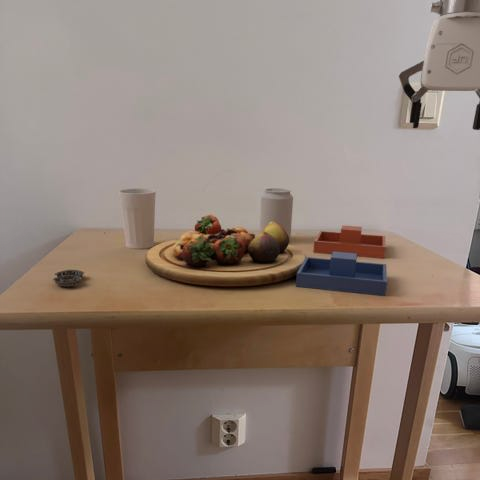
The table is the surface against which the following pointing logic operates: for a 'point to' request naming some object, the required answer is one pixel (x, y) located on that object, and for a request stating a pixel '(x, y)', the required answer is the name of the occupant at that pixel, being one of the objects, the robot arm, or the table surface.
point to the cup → (138, 217)
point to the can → (276, 208)
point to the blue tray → (365, 281)
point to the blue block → (343, 264)
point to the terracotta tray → (350, 245)
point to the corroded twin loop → (68, 277)
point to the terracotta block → (350, 234)
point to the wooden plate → (226, 256)
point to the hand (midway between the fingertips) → (445, 128)
